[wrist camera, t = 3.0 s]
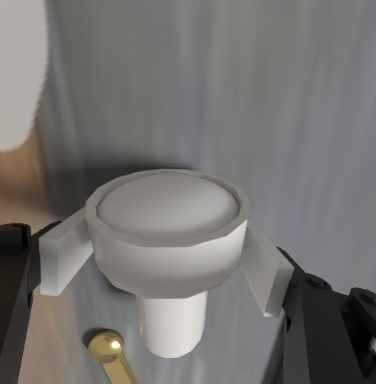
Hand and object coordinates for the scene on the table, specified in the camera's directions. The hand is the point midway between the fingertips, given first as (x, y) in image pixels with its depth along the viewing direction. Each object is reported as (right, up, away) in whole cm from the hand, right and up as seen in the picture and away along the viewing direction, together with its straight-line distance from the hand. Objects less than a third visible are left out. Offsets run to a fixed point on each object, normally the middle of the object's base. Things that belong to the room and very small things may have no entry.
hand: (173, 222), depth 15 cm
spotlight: (0, -1, +1) cm, 1 cm away
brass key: (-5, -14, +4) cm, 15 cm away
